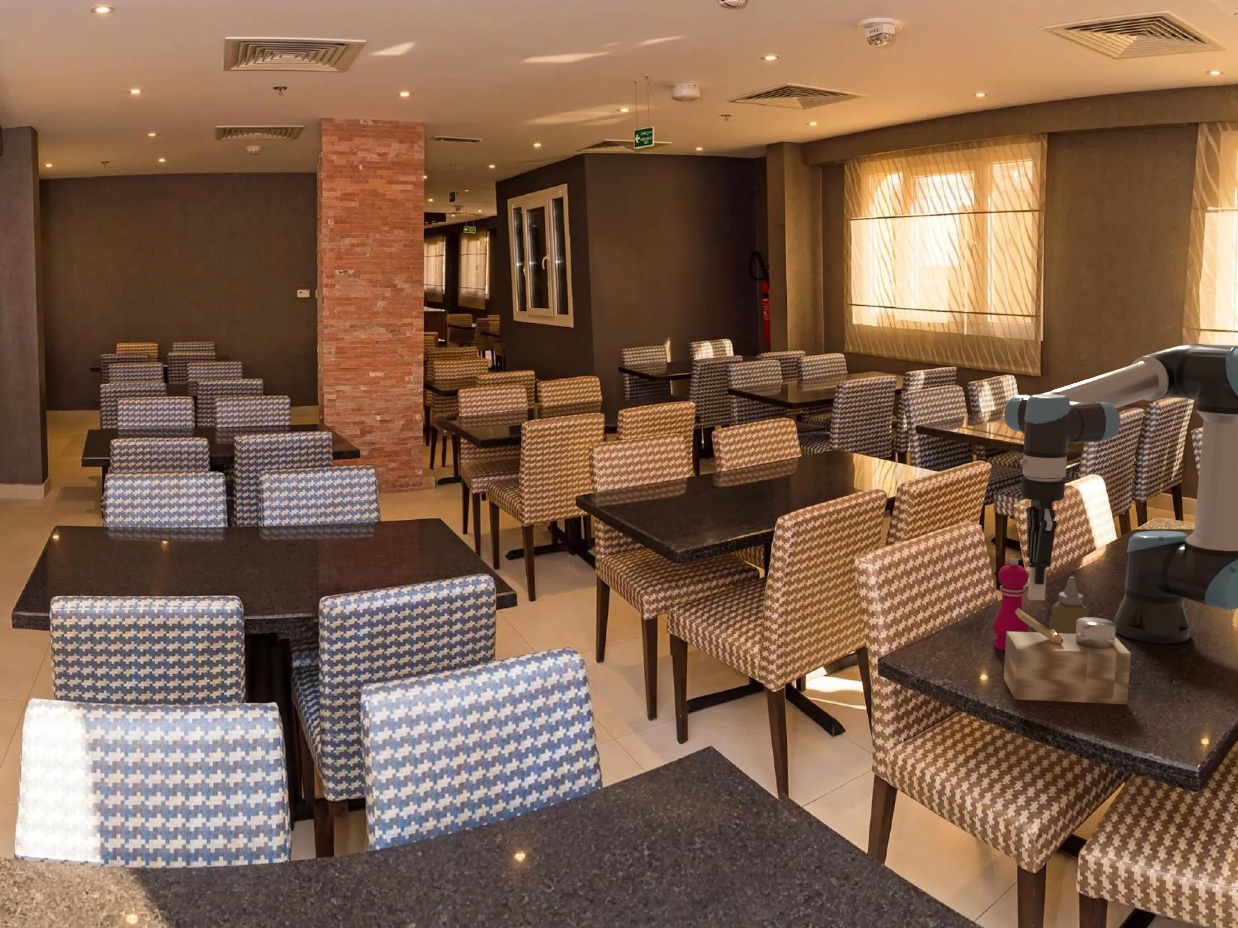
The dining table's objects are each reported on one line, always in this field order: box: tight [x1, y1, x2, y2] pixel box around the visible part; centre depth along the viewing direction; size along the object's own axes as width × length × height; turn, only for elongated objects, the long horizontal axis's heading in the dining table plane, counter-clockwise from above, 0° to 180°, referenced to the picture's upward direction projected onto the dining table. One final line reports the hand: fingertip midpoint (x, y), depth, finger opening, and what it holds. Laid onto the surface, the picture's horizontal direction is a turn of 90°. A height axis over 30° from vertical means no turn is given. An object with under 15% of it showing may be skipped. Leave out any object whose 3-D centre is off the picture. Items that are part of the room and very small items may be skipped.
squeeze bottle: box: [1048, 576, 1089, 634], centre depth 211 cm, size 8×8×18 cm
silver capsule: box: [1075, 616, 1116, 649], centre depth 195 cm, size 7×7×12 cm
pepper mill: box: [992, 557, 1029, 652], centre depth 220 cm, size 7×7×20 cm
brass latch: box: [1015, 608, 1063, 645], centre depth 196 cm, size 9×4×2 cm
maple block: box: [1003, 631, 1132, 705], centre depth 196 cm, size 20×10×10 cm, turn 81°
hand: (1036, 598), depth 195 cm, fingers closed
